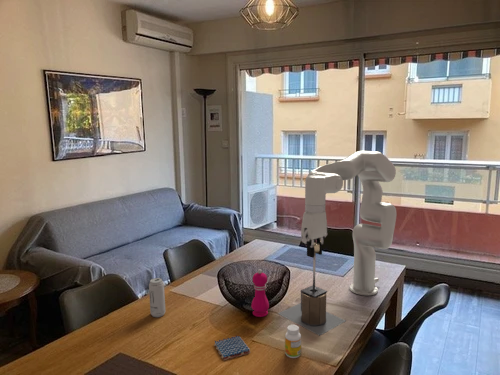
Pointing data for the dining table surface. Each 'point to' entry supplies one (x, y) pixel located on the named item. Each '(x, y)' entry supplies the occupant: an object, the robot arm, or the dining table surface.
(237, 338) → the woven mat
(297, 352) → the supplement bottle
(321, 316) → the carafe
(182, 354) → the dining table surface
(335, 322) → the slate board
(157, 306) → the energy drink can
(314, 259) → the plunger
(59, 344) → the dining table surface
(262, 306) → the pepper mill
